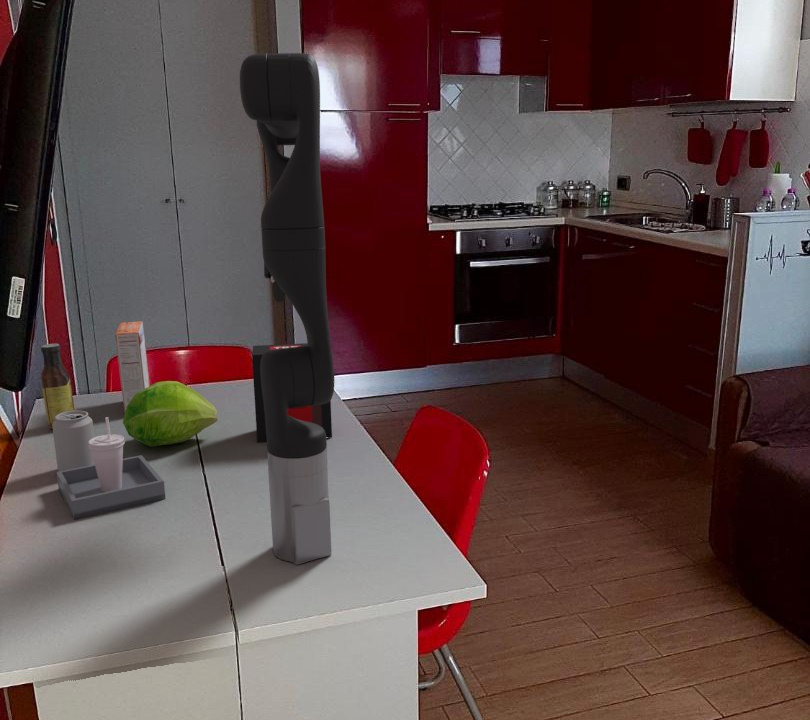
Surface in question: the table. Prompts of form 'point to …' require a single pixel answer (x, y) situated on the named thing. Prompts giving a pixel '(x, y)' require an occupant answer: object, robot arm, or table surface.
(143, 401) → the lettuce
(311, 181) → the robot arm
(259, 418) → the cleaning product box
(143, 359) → the cracker box
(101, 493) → the tray
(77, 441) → the can
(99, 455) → the smoothie
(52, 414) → the sauce bottle
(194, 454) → the table surface
